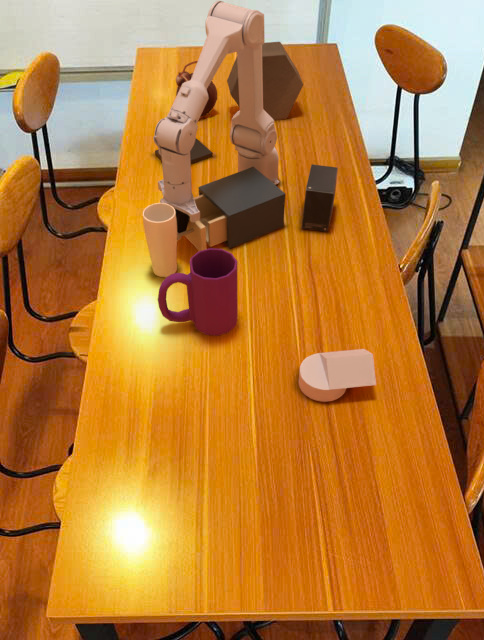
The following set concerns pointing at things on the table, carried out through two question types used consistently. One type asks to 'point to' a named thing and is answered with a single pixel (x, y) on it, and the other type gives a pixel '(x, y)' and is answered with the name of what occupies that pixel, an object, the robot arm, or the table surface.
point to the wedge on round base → (335, 373)
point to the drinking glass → (161, 237)
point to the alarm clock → (211, 89)
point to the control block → (195, 152)
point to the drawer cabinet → (247, 204)
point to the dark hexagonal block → (273, 81)
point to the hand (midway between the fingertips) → (180, 232)
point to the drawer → (206, 225)
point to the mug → (206, 292)
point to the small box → (319, 197)
